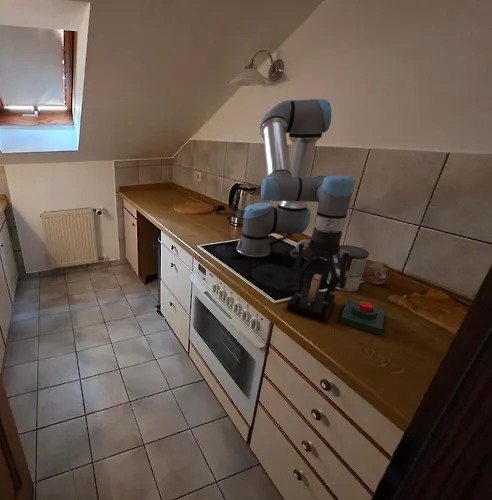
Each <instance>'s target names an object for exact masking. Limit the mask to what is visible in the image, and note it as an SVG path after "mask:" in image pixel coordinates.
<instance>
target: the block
mask: <svg viewBox="0 0 492 500" xmlns="http://www.w3.org/2000/svg"><path fill="white" fill-rule="evenodd" d="M358 304H359V302H358V301H354V300H351V299H346V302H345V304H344V307H343V310H342V314H341V316H340V319H339V323H341V324H344V325H347V326H350V327H353V328H356V329H359V330H363V331H365V332H369V333H371V334H375V335H378V336H381V335H382V331H383V326H384V320H385V309H383V308H379V307H376V306H373V309H372V312H364V311H361V310H359V309H358Z"/></svg>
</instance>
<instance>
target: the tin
mask: <svg viewBox="0 0 492 500" xmlns="http://www.w3.org/2000/svg"><path fill="white" fill-rule="evenodd" d="M391 277H392V270H391V268H390V266H389V265H387V264H386V263H384V262H382V261H379V260H375V259H372V258H370V257H368V258H367V261H366V264H365V268H364V271H363V274H362V278H361V281H365V282H367V283H370V284H373V285H382V284H385V283H387V282H388V281H389V280H390V279H391Z"/></svg>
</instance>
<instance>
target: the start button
mask: <svg viewBox="0 0 492 500" xmlns="http://www.w3.org/2000/svg"><path fill="white" fill-rule="evenodd" d="M358 303H359V304H358V309H359V310H361V311H364V312H372V309H373V307H374V304H372V303H371V302H369V301H364V300H362V301H359V302H358Z"/></svg>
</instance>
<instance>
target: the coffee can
mask: <svg viewBox="0 0 492 500" xmlns="http://www.w3.org/2000/svg"><path fill="white" fill-rule="evenodd" d="M340 249H342V250H345V251H347V250H348V251H350V254H349V256H348V258H347V265H346V276H345V281H344V283H337V284H336V288H335V290H336V289H337V290H340V291H343V292H356V291H357V290H359V288H360V284H361V281H362V279H361V278H362V274H363V271H364V268H365V264H366V261H367V258H369V255H370V252H369V251H368V250H366V248H363V247H359V246H355V245H349V244H340ZM333 257H334V263H335V267H336V272H337V276H338V277H340V267H341V259H342V258H341V257H340V253H337V254H336V255H334V256H333ZM330 279H331V275H330V271H329V272H328V275H327V279H326V283H327V284H329V281H330Z"/></svg>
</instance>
